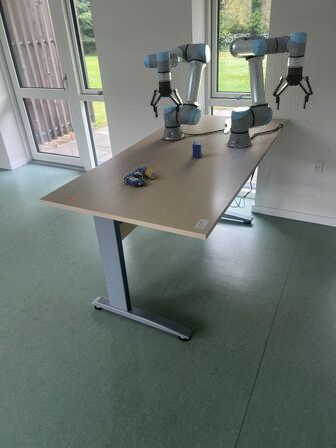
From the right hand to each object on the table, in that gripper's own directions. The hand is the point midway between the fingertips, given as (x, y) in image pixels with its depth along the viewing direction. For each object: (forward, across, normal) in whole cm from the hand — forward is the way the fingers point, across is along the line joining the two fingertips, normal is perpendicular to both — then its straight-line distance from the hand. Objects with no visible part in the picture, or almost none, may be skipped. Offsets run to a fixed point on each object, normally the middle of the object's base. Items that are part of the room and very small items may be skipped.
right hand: (290, 109), depth 182 cm
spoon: (+28, -35, +70) cm, 83 cm away
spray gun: (+28, -80, -32) cm, 91 cm away
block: (+28, -53, +4) cm, 60 cm away
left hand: (+5, -72, +10) cm, 73 cm away
